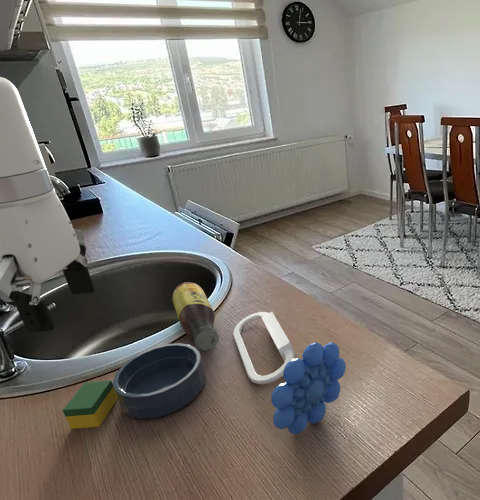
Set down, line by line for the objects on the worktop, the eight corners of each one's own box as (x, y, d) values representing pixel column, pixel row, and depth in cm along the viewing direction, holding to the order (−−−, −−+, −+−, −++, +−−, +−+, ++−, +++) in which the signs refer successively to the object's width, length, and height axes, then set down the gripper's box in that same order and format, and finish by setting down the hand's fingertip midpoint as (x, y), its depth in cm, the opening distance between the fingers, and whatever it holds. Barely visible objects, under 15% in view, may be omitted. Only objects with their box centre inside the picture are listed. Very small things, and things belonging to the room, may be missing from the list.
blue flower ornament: (329, 384, 63) (321, 317, 58) (359, 408, 58) (352, 336, 53) (261, 427, 56) (246, 354, 51) (288, 458, 51) (274, 380, 46)
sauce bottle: (208, 292, 89) (235, 339, 73) (185, 312, 88) (208, 364, 72) (187, 273, 85) (210, 318, 69) (162, 294, 84) (181, 344, 68)
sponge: (70, 429, 58) (62, 410, 57) (92, 400, 63) (84, 382, 62) (99, 426, 58) (91, 407, 57) (118, 398, 63) (111, 380, 62)
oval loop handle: (234, 334, 80) (225, 319, 78) (272, 313, 82) (264, 299, 80) (258, 400, 63) (248, 383, 61) (306, 372, 65) (297, 354, 63)
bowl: (106, 425, 58) (96, 400, 57) (142, 368, 70) (135, 346, 68) (192, 417, 59) (185, 392, 57) (215, 362, 70) (209, 340, 68)
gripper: (30, 174, 58) (72, 283, 64) (-82, 213, 42) (-11, 351, 49) (84, 169, 58) (121, 278, 65) (-7, 206, 42) (54, 345, 49)
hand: (64, 310), depth 57 cm, fingers open, 9 cm apart
